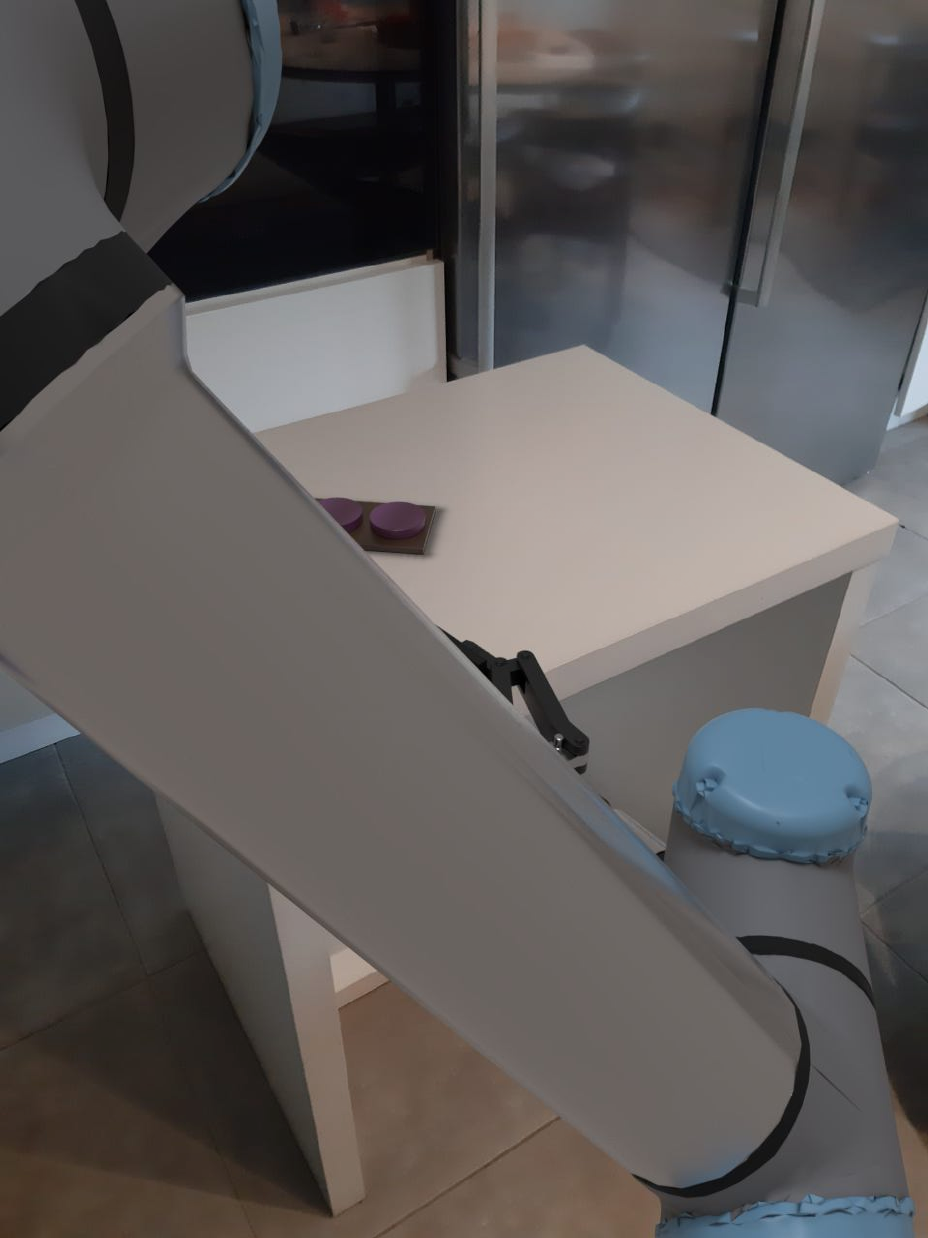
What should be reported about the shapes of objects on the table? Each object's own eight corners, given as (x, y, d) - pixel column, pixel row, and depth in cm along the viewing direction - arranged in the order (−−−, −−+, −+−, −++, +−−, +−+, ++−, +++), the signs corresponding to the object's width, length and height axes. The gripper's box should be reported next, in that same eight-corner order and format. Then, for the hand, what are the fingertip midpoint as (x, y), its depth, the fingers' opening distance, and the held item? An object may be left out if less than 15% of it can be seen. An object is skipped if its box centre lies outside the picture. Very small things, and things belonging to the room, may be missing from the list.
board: (231, 540, 91) (229, 526, 90) (255, 499, 97) (253, 485, 96) (423, 554, 89) (422, 539, 88) (435, 511, 95) (435, 496, 94)
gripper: (403, 1040, 50) (191, 805, 62) (701, 793, 63) (477, 641, 76) (397, 953, 45) (170, 719, 58) (720, 707, 59) (479, 560, 71)
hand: (344, 674), depth 67 cm, fingers open, 13 cm apart
